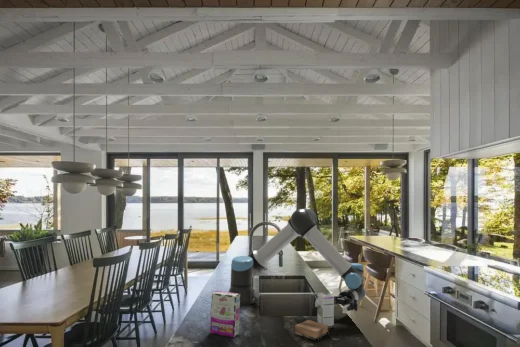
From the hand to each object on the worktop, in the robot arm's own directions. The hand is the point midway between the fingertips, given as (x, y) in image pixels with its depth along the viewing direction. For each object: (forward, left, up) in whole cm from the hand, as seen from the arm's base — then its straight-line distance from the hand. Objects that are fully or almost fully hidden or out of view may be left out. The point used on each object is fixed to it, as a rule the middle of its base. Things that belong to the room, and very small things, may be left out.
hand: (329, 306), depth 165 cm
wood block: (-14, -4, -9) cm, 17 cm away
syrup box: (-3, 0, -9) cm, 9 cm away
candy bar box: (-47, +13, -9) cm, 49 cm away
